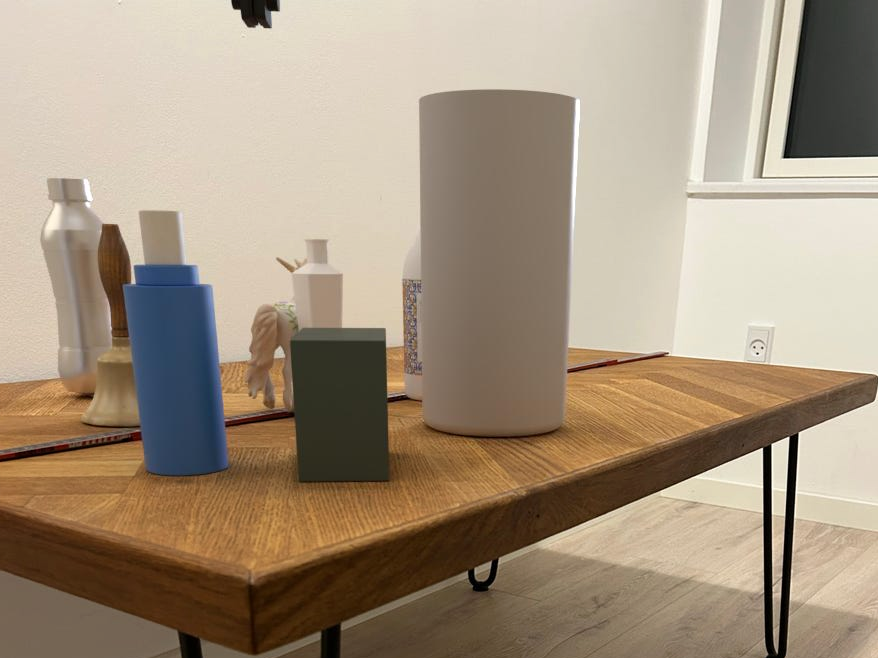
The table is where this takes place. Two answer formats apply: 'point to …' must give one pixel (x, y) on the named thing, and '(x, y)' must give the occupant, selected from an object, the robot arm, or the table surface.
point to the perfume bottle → (318, 289)
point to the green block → (340, 404)
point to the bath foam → (412, 320)
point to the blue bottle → (174, 355)
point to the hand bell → (114, 340)
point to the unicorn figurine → (272, 347)
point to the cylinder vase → (496, 258)
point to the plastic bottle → (76, 283)
